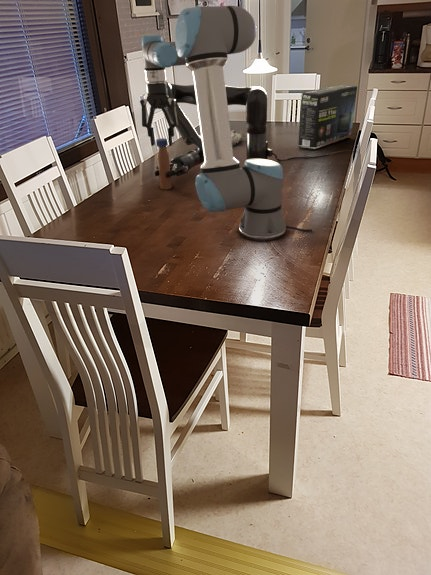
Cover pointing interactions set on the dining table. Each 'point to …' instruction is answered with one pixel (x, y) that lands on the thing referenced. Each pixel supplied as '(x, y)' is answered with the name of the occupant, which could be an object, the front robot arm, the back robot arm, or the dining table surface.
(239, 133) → the fossil
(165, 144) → the cap
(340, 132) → the router box
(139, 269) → the dining table surface
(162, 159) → the bottle
